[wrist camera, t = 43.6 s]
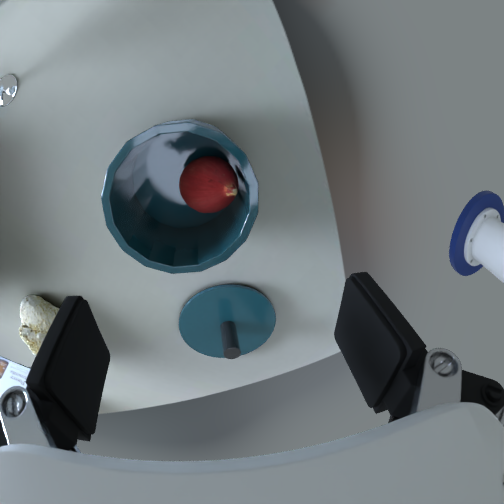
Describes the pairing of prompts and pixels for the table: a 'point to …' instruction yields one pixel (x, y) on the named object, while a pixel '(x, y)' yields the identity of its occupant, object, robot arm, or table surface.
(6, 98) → the wineglass
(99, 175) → the table surface
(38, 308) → the decorative item
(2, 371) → the skincare box
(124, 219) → the pot
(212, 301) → the lid
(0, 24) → the table surface
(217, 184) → the red pomegranate
